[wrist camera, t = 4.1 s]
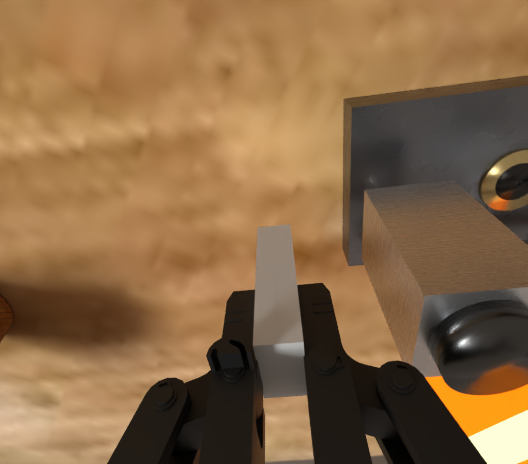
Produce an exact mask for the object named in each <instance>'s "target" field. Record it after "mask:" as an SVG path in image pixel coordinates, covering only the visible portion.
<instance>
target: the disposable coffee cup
mask: <svg viewBox="0 0 528 464" xmlns="http://www.w3.org/2000/svg"><path fill="white" fill-rule="evenodd" d="M12 323H13V313H12V310H11V308H10V306H9V305H8V303H7V302H6V301H5V300H4V299H3V298H2V297H1V296H0V342H1V340H2V339H3V337H4V336H5V334H6V333H7V331H8V329H9V328H10V326H11V325H12Z"/></svg>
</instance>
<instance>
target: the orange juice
mask: <svg viewBox="0 0 528 464" xmlns="http://www.w3.org/2000/svg"><path fill="white" fill-rule="evenodd" d="M425 378H426V380H427V381H428V382H429V384H430V385H431V386H432V388H433V389H434V391H435V392H436V393H437V395H438V396H439V398H440V399H441V400H442V402H443V403H444V404H445V406H446V407H447V409H448V410H449V411H450V413H451V414H452V415H453V417H454V418H455V420H456V421H457V422H458V424H459V425H460V427H461V428H462V429H463V431H464V432H465V433H466V435H467V436H468V438H469V439H470V440H471V442H472V443H473V444H474V446H475V447H476V449H477V450H478V451H479V453H480V454H481V456H482V457H483V458H484V460H485V461H486V462H487V464H528V384H527V385H525V386H523V387H521V388H518V389H515V390H512V391H508V392H504V393H500V394H494V395H468V394H463V393H460V392H457V391H455V390H453V389H451V388H450V387H449V386H448V385H447V384H446V383H445V382H444V380H443V378H442V376H438V377H425Z"/></svg>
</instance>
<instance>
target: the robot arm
mask: <svg viewBox="0 0 528 464" xmlns="http://www.w3.org/2000/svg"><path fill="white" fill-rule="evenodd" d="M206 357H207V359H208V362H209V365H210V368H211V371H209V372H208V373H207V374H205V375H203V376H201V377H199V378H197V379H194V380H191V381H189V382H186V383H184V382H183V381H182V380H180V379H177V378H166V379H163V380H161V381H159V382H157V383H156V384H155V385H153V386H152V387H151V388H150V389H149V391H148V392H147V393H146V395H145V396H144V398H143V400H142V402H141V404H140V405H139V407H138V409H137V411H136V413H135V415H134V416H133V418H132V420H131V422H130V424H129V425H128V427H127V429H126V431H125V433H124V434H123V436H122V438H121V440H120V442H119V443H118V445H117V447H116V449H115V451H114V452H113V454H112V456H111V458H110V460H109V461H108V463H107V464H265V414H264V409H263V395H264V398H273V397H288V396H303V395H307V397H308V407H309V418H310V427H311V436H312V446H313V456H314V464H372V461H371V456H370V452H369V448H368V443H367V439H366V435H365V434H367V435H370V436H373V437H375V438H376V440H377V442H378V444H379V446H380V448H381V450H382V452H383V454H384V456H385V458H386V460H387V462H388V464H487V462H486V461H485V460H484V458H483V457H482V456H481V454H480V453H479V451H478V450H477V449H476V447H475V446H474V444H473V443H472V442H471V440H470V439H469V438H468V436H467V435H466V433H465V432H464V431H463V429H462V428H461V427H460V425H459V424H458V422H457V421H456V420H455V418H454V417H453V415H452V414H451V413H450V411H449V410H448V409H447V407H446V406H445V404H444V403H443V402H442V400H441V399H440V398H439V396H438V395H437V393H436V392H435V391H434V389H433V388H432V386H431V385H430V384H429V382H428V381H427V380H426V378H425V377H424V375H423V374H422V373H421V372H420V371H419V370H418V369H417V368H416V367H414V366H412V365H410V364H408V363H406V362H401V361H390V362H387V363H385V364H383V365H382V366H381V367H380V368H377V367H373V366H368V365H364V364H361V363H358V362H357V361H355V360H353V359H352V358H351V357H349V356H348V355H347V353H346V352H345V351H344V349H343V346H342V343H341V339H340V334H339V330H338V326H337V321H336V317H335V313H334V308H333V304H332V299H331V295H330V291H329V290H328V289H327V288H326V287H325V286H324V284H323V283H315V284H304V285H297V280H296V271H295V263H294V254H293V245H292V236H291V227H290V224H288V225H278V226H268V227H258V232H257V256H256V281H255V290H246V291H235V292H233V293H232V295H231V296H230V298H229V299H228V301H227V305H226V314H225V320H224V327H223V334H222V338H221V339H219V340H218V341H216V342H214V344H213V345H212V346H211V347H210V348H209V350H208V353H207V355H206Z"/></svg>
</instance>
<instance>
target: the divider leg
mask: <svg viewBox="0 0 528 464" xmlns="http://www.w3.org/2000/svg"><path fill="white" fill-rule="evenodd" d="M361 258H362V260H363V263H364V266H365V268H366V271H367V273H368V276H369V278H370V281H371V283H372V286H373V288H374V291H375V293H376V296H377V298H378V301H379V303H380V306H381V309H382V311H383V314H384V316H385V319H386V321H387V324H388V326H389V329H390V331H391V334H392V336H393V339H394V341H395V344H396V346H397V349H398V352H399V354H400V357H401V359H402V362H406V363H408V364H410V365H412V366H414V367H416V368H417V369H418V370H419V371H420V372H421V373H422V374H423V375H424V377H438V376H442V378H443V380H444V382H445V383H446V384H447V385H448V386H449V387H450V388H451V389H453V390H455V391H457V392H460V393H463V394H468V395H494V394H500V393H504V392H508V391H512V390H515V389H518V388H521V387H523V386H525V385H527V384H528V245H527V244H526V243H524V242H523V241H522V240H521V239H520V238H519V237H518V236H517V235H515V234H514V233H513V232H512V231H511V230H510V229H509V228H507V227H506V226H505V225H504V224H503V223H502V222H501V221H499V220H498V219H497V218H496V217H495V216H494V215H493V214H492V213H490V212H489V211H488V210H487V209H486V208H485V207H484V206H482V205H481V204H480V203H479V202H478V201H477V200H476V199H474V198H473V197H472V196H471V195H470V194H469V193H468V192H466V191H465V190H464V189H463V188H462V187H461V186H460V185H459V184H457V183H456V182H455V181H454V180H449V181H439V182H430V183H421V184H412V185H402V186H393V187H384V188H374V189H365V190H364V211H363V233H362V256H361Z"/></svg>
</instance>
